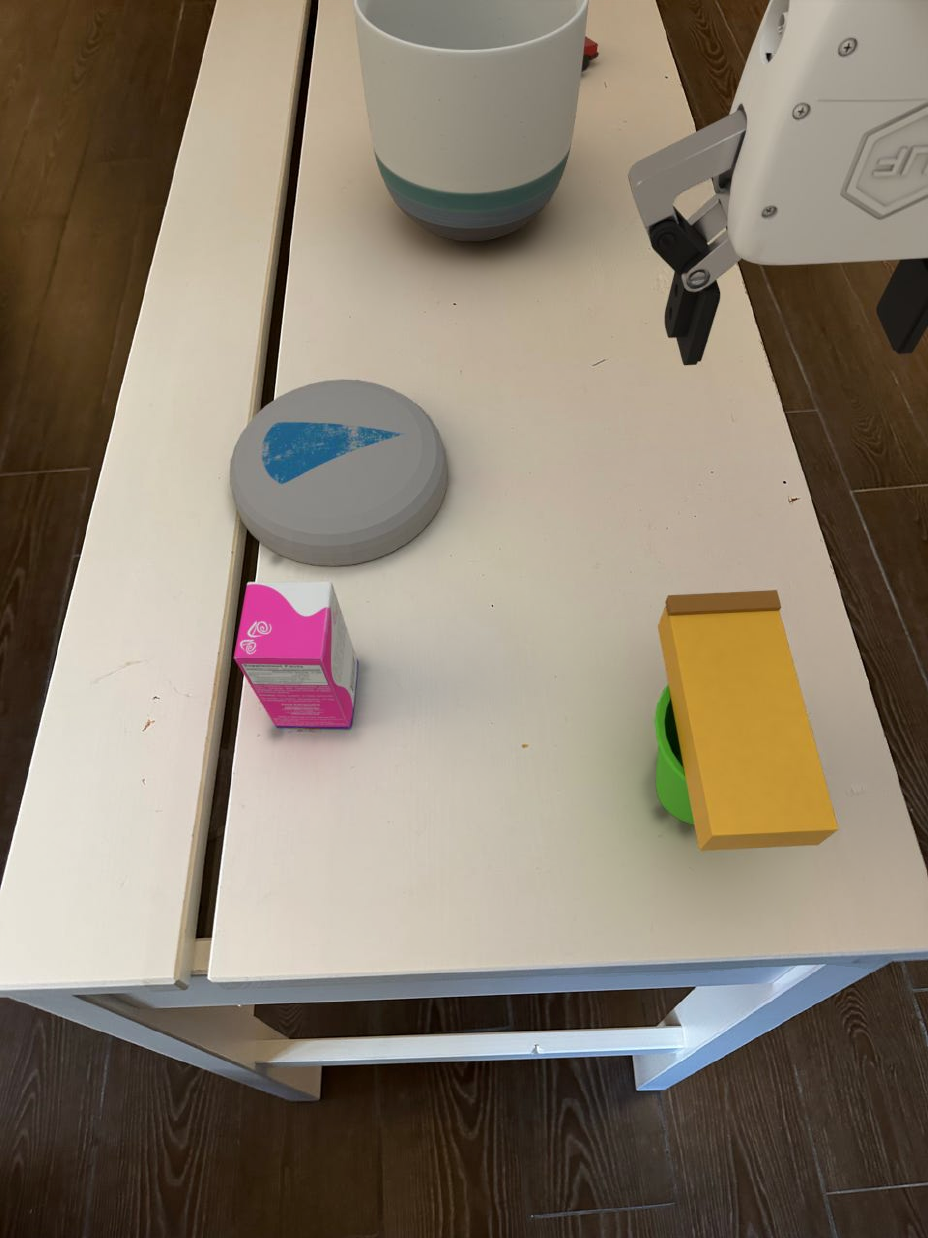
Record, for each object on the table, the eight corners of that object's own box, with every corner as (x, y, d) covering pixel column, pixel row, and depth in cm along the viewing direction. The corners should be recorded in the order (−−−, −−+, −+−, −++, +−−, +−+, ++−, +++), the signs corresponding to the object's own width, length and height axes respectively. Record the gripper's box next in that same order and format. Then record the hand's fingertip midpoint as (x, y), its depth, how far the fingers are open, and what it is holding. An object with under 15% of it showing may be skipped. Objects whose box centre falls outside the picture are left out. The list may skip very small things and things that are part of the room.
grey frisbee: (465, 547, 69) (464, 509, 65) (240, 584, 68) (223, 548, 63) (429, 387, 78) (426, 345, 74) (229, 416, 77) (214, 375, 72)
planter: (579, 273, 86) (606, 44, 67) (380, 285, 86) (352, 57, 67) (555, 156, 96) (572, -70, 78) (377, 166, 96) (352, -59, 77)
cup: (615, 736, 61) (640, 667, 51) (738, 722, 61) (786, 651, 51) (642, 861, 56) (675, 811, 46) (775, 846, 56) (835, 793, 47)
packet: (818, 845, 45) (842, 827, 42) (699, 851, 45) (714, 833, 42) (760, 618, 53) (777, 589, 50) (656, 623, 52) (667, 594, 50)
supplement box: (282, 659, 64) (246, 577, 54) (359, 660, 64) (337, 579, 54) (271, 729, 61) (231, 657, 51) (352, 731, 61) (327, 659, 51)
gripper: (710, -62, 22) (614, 408, 37) (1357, -89, 22) (1003, 387, 37) (658, -176, 26) (590, 293, 40) (1213, -197, 26) (944, 275, 41)
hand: (788, 338), depth 39 cm, fingers open, 9 cm apart
